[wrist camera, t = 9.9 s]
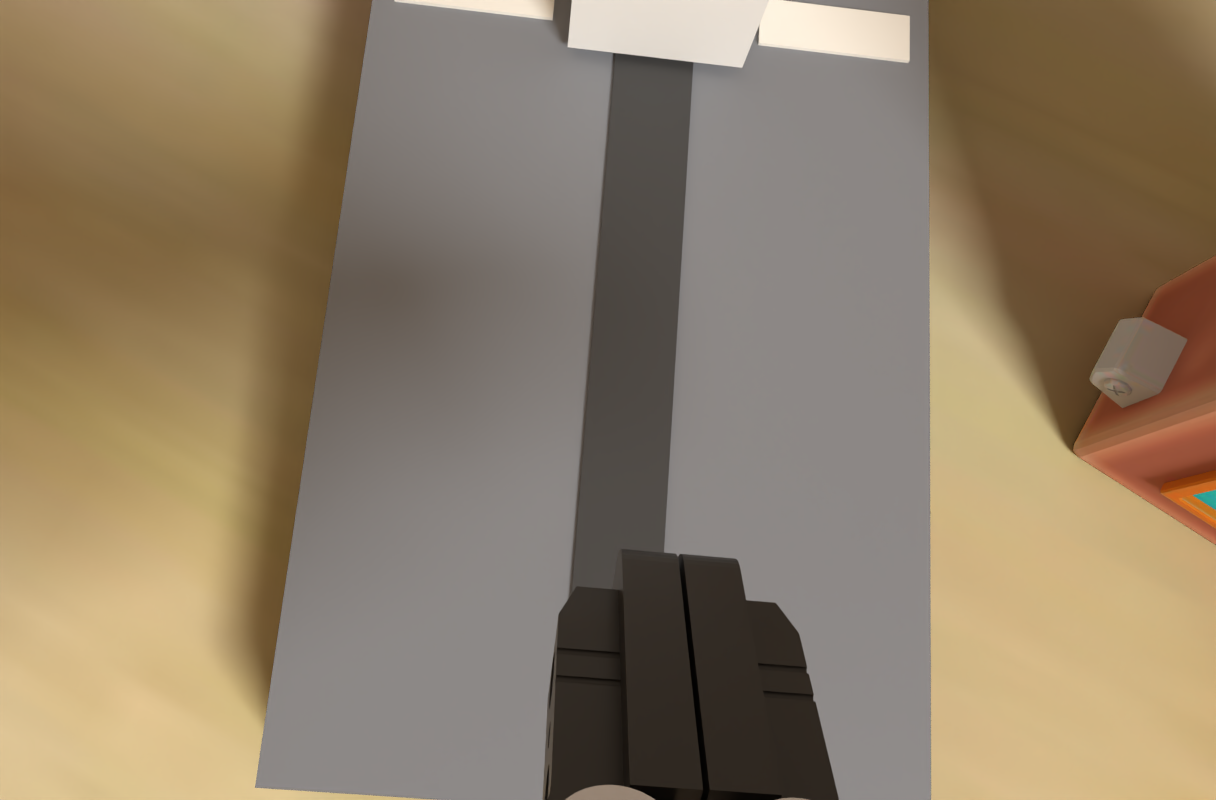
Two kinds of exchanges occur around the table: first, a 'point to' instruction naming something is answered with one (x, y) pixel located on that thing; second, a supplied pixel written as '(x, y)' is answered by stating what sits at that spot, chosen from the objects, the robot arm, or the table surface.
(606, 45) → the fader tab
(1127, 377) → the control panel
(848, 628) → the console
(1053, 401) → the table surface
